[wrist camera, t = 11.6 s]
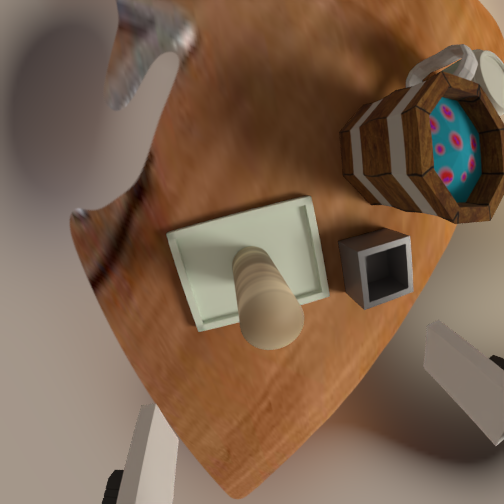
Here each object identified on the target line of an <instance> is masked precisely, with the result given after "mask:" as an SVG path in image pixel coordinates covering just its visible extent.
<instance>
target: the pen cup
mask: <svg viewBox="0 0 504 504" xmlns="http://www.w3.org/2000/svg"><path fill="white" fill-rule="evenodd" d="M338 244H339V250H340V256H341V262H342V269H343V276H344V283H345V290H346V293H347V294H348V295H349V296H350V297H351V298H352V299H353V300H354V301H355V302H356V303H358V304H359V305H360V306H361V307H362V308H363V309H364V310H366V309H369V308H371V307H374V306H377V305H380V304H382V303H385V302H388V301H390V300H393V299H396V298H398V297H401V296H403V295H406V294H408V293H411V292H413V271H412V255H411V242H410V236H408V235H405V234H402V233H400V232H397V231H394V230H391V229H387V228H383V229H380V230H376V231H373V232H369V233H366V234H362V235H359V236H355V237H351V238H348V239H344V240H341V241H338Z"/></svg>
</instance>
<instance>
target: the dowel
mask: <svg viewBox="0 0 504 504" xmlns="http://www.w3.org/2000/svg"><path fill="white" fill-rule="evenodd" d="M232 270H233V277H234V285H235V292H236V300H237V307H238V314H239V321H240V328H241V332H242V334H243V336H244V338H245V339H246V340H247V341H248V342H249V343H250V344H251V345H253V346H255V347H257V348H260V349H265V350H274V349H279V348H282V347H284V346H287V345H288V344H290V343H291V342H293V341H294V340H295V339H296V338H297V337H298V335H299V334H300V332H301V330H302V328H303V325H304V313H303V309H302V307H301V305H300V304H299V302H298V301H297V299H296V298H295V296H294V294H293V293H292V291H291V290H290V288H289V286H288V285H287V283H286V282H285V280H284V278H283V277H282V275H281V274H280V272H279V271H278V269H277V267H276V266H275V264H274V263H273V261H272V260H271V258H270V256H269V255H268V253H267V252H266V251H265V250H263V249H262V248H259V247H255V246H249V247H245V248H243V249H241V250H240V251H239V252H238V253H237V254H236V255H235V257H234V259H233V262H232Z"/></svg>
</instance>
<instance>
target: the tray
mask: <svg viewBox="0 0 504 504" xmlns="http://www.w3.org/2000/svg"><path fill="white" fill-rule="evenodd" d="M166 236H167V239H168V242H169V246H170V249H171V252H172V255H173V258H174V262H175V265H176V268H177V271H178V274H179V277H180V280H181V283H182V286H183V289H184V292H185V295H186V298H187V301H188V304H189V306H190V309H191V312H192V315H193V318H194V320H195V323H196V326H197V329H198V331H199V332H201V331H205V330H209V329H213V328H217V327H222V326H226V325H230V324H234V323H237V322H240V321H239V314H238V307H237V300H236V292H235V285H234V277H233V270H232V262H233V259H234V257H235V255H236V254H237V253H238V252H239V251H240V250H241V249H243V248H245V247H249V246H255V247H259V248H262V249H263V250H265V251H266V252H267V253H268V255H269V256H270V258H271V260H272V261H273V263H274V264H275V266H276V267H277V269H278V271H279V272H280V274H281V275H282V277H283V278H284V280H285V282H286V283H287V285H288V286H289V288H290V290H291V291H292V293H293V294H294V296H295V298H296V299H297V301H298V302H299V304H300V305H303V304H306V303H309V302H313V301H316V300H319V299H323V298H326V297H329V296H330V295H329V289H328V282H327V276H326V271H325V265H324V259H323V254H322V248H321V243H320V238H319V232H318V227H317V222H316V217H315V213H314V208H313V203H312V198H311V196H308V195H307V196H303V197H299V198H295V199H290V200H286V201H282V202H278V203H274V204H270V205H266V206H262V207H258V208H254V209H250V210H246V211H243V212H239V213H235V214H231V215H227V216H224V217H220V218H216V219H212V220H209V221H205V222H201V223H198V224H194V225H191V226H187V227H183V228H180V229H176V230H173V231H169V232H168V233H167V234H166Z"/></svg>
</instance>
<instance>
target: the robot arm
mask: <svg viewBox="0 0 504 504" xmlns="http://www.w3.org/2000/svg"><path fill="white" fill-rule="evenodd" d="M424 369H425V370H426V371H427V372H428V373H429V374H430V375H431V376H432V377H433V378H434V379H435V380H436V381H437V382H438V383H439V384H440V385H441V386H442V388H443V389H444V390H445V391H446V392H447V393H448V394H449V395H450V396H451V397H452V398H453V399H454V400H455V401H456V402H457V404H459V406H460V407H461V408H462V409H463V410H464V411H465V412H466V413H467V414H468V416H469V417H470V418H471V419H472V420H473V421H474V422H475V423H476V424H477V426H478V427H479V428H480V429H481V430H482V431H483V432H484V433H485V434H486V436H487V437H488V438H489V439H490V440H491V441H492V442H493V443H494V445H495V446H497V445H498V444H499V443H500V442H501V441H503V440H504V359H503V358H501V357H498V356H495V355H493V356H491V357H490V358H488V357H486V356H485V355H484V354H483V353H481V352H480V351H479V350H478V349H476V348H475V347H474V346H472V345H471V344H470V343H468V342H467V341H466V340H464V339H463V338H462V337H461V336H459V335H458V334H457V333H456V332H454V331H453V330H451V329H450V328H449V327H448V326H446V325H445V324H443V323H442V322H441V321H439V320H437V321H435V322H433V323H431V324H428V325H427V332H426V346H425V357H424ZM178 442H179V439H178V438H177V436H176V435H175V433H174V432H173V430H172V429H171V427H170V426H169V424H168V423H167V421H166V419H165V418H164V416H163V414H162V413H161V411H160V409H159V408H158V406H157V404H149V405H142V406H141V409H140V413H139V416H138V419H137V423H136V427H135V430H134V434H133V437H132V441H131V445H130V449H129V453H128V457H127V461H126V464H125V468H124V470H115V471H114V472H113V473H112V474H111V476H110V477H109V478H108V482H107V486H106V490H105V493H104V498H103V501H102V504H173V492H174V481H175V470H176V460H177V450H178Z"/></svg>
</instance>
